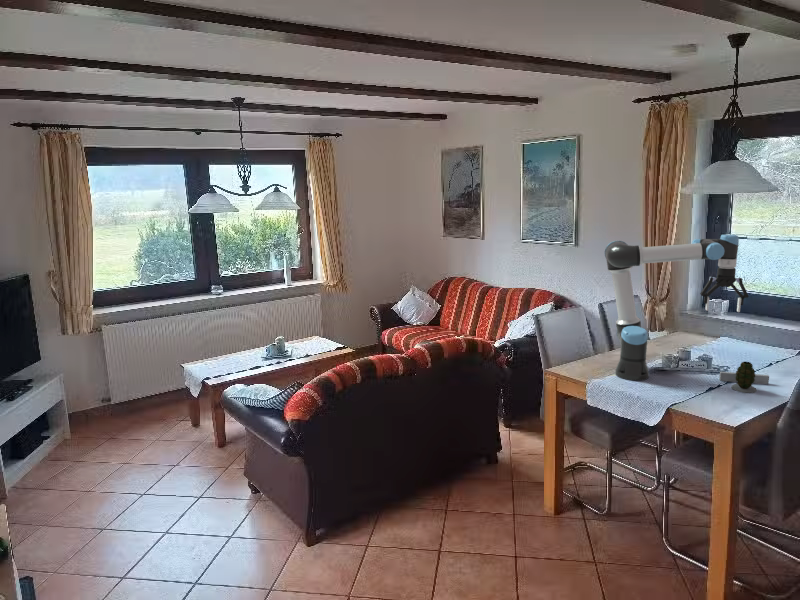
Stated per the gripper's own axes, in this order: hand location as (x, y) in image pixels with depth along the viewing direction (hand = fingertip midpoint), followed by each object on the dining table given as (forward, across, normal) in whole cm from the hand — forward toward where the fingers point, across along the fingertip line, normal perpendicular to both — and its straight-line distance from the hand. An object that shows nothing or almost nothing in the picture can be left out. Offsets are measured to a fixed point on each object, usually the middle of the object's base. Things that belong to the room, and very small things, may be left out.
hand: (722, 310), depth 280 cm
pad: (+31, +7, -23) cm, 39 cm away
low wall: (+31, +9, -13) cm, 35 cm away
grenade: (+30, +7, -23) cm, 39 cm away
